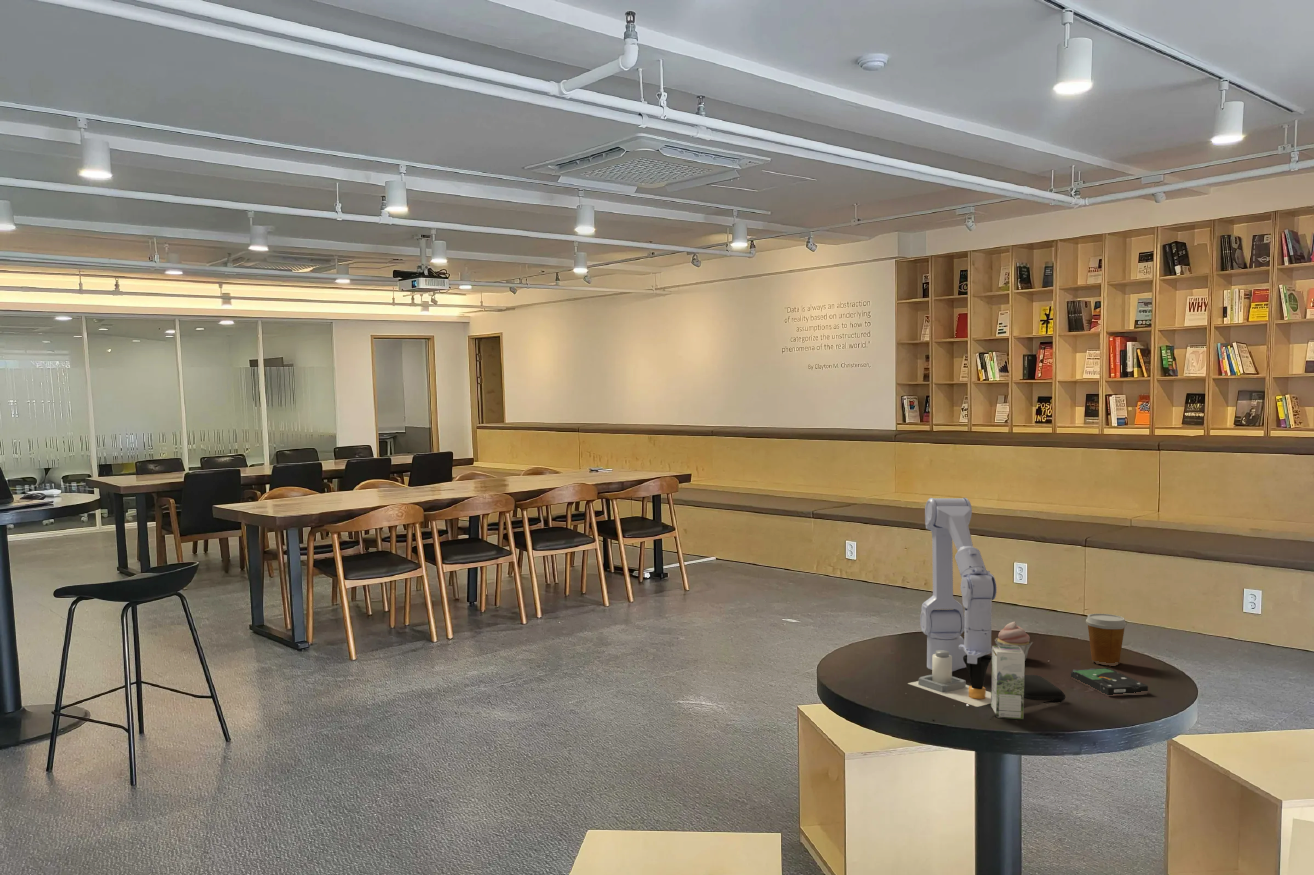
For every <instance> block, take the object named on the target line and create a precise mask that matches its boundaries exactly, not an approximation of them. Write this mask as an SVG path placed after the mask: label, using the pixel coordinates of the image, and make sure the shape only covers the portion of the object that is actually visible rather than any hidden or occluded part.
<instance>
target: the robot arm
mask: <svg viewBox="0 0 1314 875" xmlns="http://www.w3.org/2000/svg"><path fill="white" fill-rule="evenodd" d="M972 512H973V508H972V503H971V502H970V500H969V499H968V498H967V497H962V498H960V497H959V498H954V497H953V498H952V497H950V498H945V497H944V498H940V497H939V498H936V497H935V498H933V497H929V498H928V499H927V501H926V502H925V506H924V524H925V529H926V530H928V531H930V532H931V539H932V540H931V541H932V545H931V546H932V548H931V549H932V550H931V551H932V596H930V597H929V598H928V599H926V600H924V601H923V603H922V604H921V608H920V609H921V612H920V616H919V624H920V630H921V632H922V633H923V634H924V635H926V668H927V669H928V670H932V655H933V654H936V651H937V650H945V651H948V652H949V655H951V656H952V672H955V671H957V670H960V669H965V668H966V669H967V672H968V676H969V682H970V686H972V688H976V689H982V688H983V687H984V684H985V680H986V675H987V674H986V673H987V670H988V668H989V665H990V662H992V655H991V654H992V621H993V620H992V616H993V614H992V613H993V611H992V610H993V608H992V607H993V606H992V605H993V602H992V601H994V600H995V599H996V597H997V593H998V592H997V588H998V587H997V582H996V578H995V576H994V575H993V574H992V573H991V571H990V570H987V568H986V565H985V563H984V560H983V557H982V554H981V551H980V550H979V549H978V548H977V547H974V546H973V545H974V544H973V541H972V537H971V532H970V528H969V525H970V522H971V520H972V516H973V513H972ZM953 543H954V546H955V548H956V550H957V552H956V553H955V555H954V557H953ZM953 558H954V560H955V561H956V566H957V568H958V571H959V574H960V578H961V580H960V594H961V597H962V598H961V599H962V601H961V602H962V603H960V602H959V601H958V600H957V599H955V598H954V580H953V579H954V578H953V577H954V576H953V575H954V572H953V571H954V570H953V569H954V567H953V566H954V564H953ZM963 633H964V634H963ZM962 635H964V636H962ZM963 637H964V638H963Z"/></svg>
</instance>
